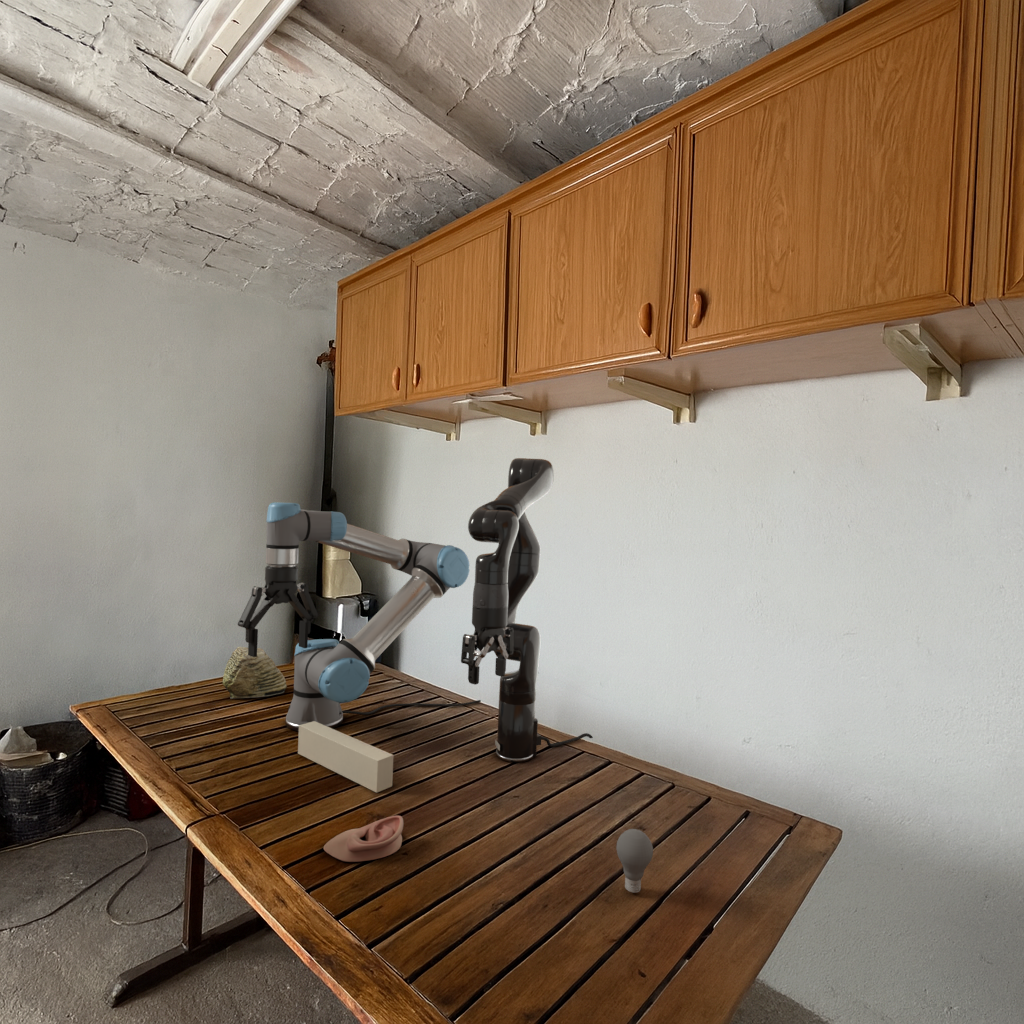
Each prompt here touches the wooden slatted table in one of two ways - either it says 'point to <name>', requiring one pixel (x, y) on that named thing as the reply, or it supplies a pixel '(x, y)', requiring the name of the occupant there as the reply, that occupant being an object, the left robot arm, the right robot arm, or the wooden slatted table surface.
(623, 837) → the light bulb
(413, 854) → the wooden slatted table surface
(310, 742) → the beam
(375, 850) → the anatomical model
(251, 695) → the fossil
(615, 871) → the wooden slatted table surface
